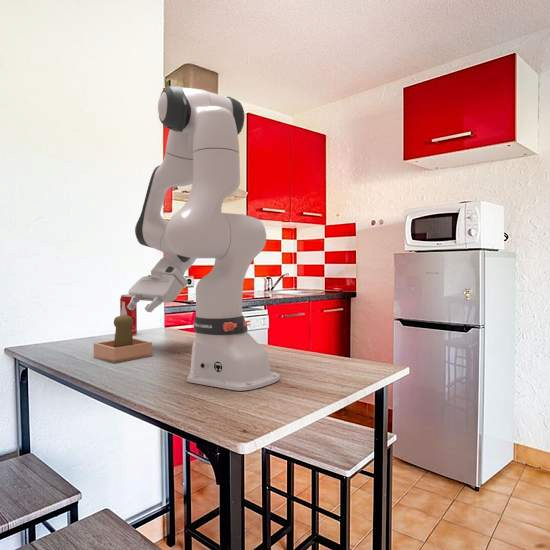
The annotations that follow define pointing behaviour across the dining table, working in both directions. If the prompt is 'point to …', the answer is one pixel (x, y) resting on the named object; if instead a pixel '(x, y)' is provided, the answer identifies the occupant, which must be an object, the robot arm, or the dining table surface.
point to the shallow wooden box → (122, 351)
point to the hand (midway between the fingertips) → (138, 309)
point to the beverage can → (128, 311)
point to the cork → (123, 331)
